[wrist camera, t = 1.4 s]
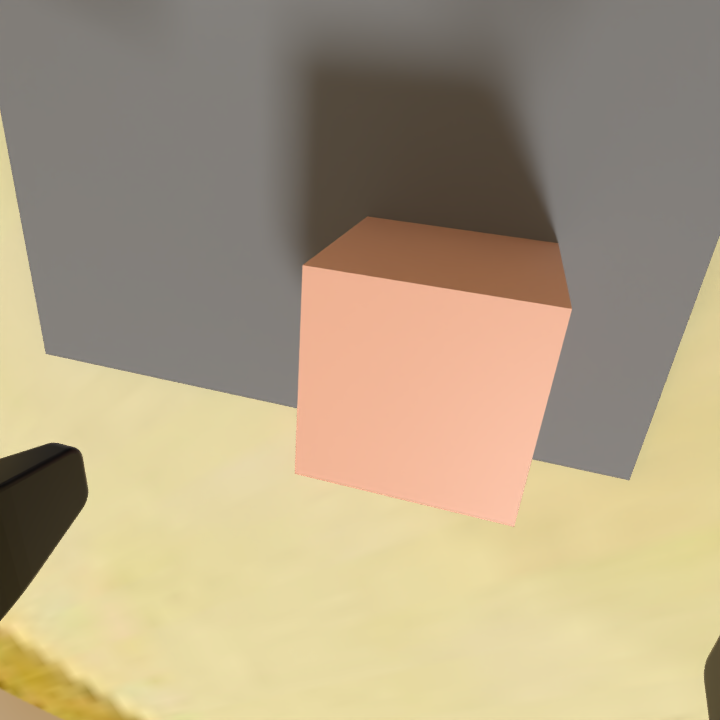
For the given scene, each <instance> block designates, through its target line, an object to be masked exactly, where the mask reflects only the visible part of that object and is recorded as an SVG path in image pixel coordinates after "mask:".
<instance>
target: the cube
mask: <svg viewBox="0 0 720 720" xmlns="http://www.w3.org/2000/svg"><path fill="white" fill-rule="evenodd" d="M571 311H572V306H571V301H570V297H569V292H568V287H567V282H566V277H565V273H564V268H563V263H562V258H561V254H560V249H559V244H558V243H553V242H546V241H539V240H531V239H524V238H517V237H510V236H503V235H496V234H489V233H482V232H474V231H467V230H460V229H453V228H446V227H439V226H432V225H425V224H418V223H410V222H403V221H396V220H389V219H382V218H375V217H368V216H367V217H366V218H365V219H363V220H362V221H361V222H359V223H358V224H357V225H355V226H354V227H353V228H351V229H350V230H349V231H347V232H346V233H345V234H343V235H342V236H341V237H339V238H338V239H337V240H335V241H334V242H333V243H331V244H330V245H329V246H327V247H326V248H325V249H323V250H322V251H321V252H319V253H318V254H317V255H315V256H314V257H313V258H311V259H310V260H309V261H307V262H306V263H305V264H303V266H302V293H301V321H300V348H299V375H298V403H297V430H296V457H295V474H298V475H303V476H307V477H311V478H315V479H319V480H323V481H327V482H331V483H336V484H340V485H344V486H348V487H352V488H356V489H360V490H365V491H369V492H373V493H377V494H381V495H385V496H389V497H393V498H398V499H402V500H406V501H410V502H414V503H418V504H422V505H427V506H431V507H435V508H439V509H443V510H447V511H451V512H456V513H460V514H464V515H468V516H472V517H476V518H480V519H484V520H489V521H493V522H497V523H501V524H505V525H509V526H513V527H514V525H515V521H516V517H517V514H518V510H519V506H520V502H521V499H522V495H523V491H524V487H525V484H526V480H527V476H528V472H529V469H530V465H531V461H532V457H533V454H534V450H535V446H536V442H537V439H538V435H539V431H540V427H541V424H542V420H543V416H544V412H545V409H546V405H547V401H548V397H549V394H550V390H551V386H552V382H553V379H554V375H555V371H556V367H557V364H558V360H559V356H560V352H561V349H562V345H563V341H564V337H565V334H566V330H567V326H568V322H569V319H570V315H571Z"/></svg>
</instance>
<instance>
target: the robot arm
mask: <svg viewBox="0 0 720 720" xmlns="http://www.w3.org/2000/svg"><path fill="white" fill-rule="evenodd" d="M87 497H88V485H87V479H86V474H85V468H84V462H83V457H82V454H81V452H80V451H79V450H78V449H77V448H75V447H71V446H67V445H63V444H59V443H49V444H45V445H42V446H39V447H36V448H33V449H30V450H26V451H23V452H20V453H17V454H14V455H10V456H7V457H4V458H1V459H0V621H1V620H2V618H3V617H4V616H5V615H6V614H7V612H8V611H9V610H10V609H11V608H12V606H13V605H14V604H15V603H16V601H17V600H18V599H19V598H20V596H21V595H22V594H23V593H24V591H25V590H26V588H27V587H28V586H29V584H30V583H31V582H32V580H33V579H34V577H35V576H36V575H37V573H38V572H39V570H40V569H41V567H42V566H43V565H44V563H45V562H46V560H47V559H48V557H49V556H50V555H51V553H52V552H53V550H54V549H55V547H56V546H57V544H58V543H59V542H60V540H61V539H62V537H63V536H64V534H65V533H66V532H67V530H68V529H69V527H70V526H71V524H72V523H73V522H74V520H75V519H76V517H77V516H78V514H79V513H80V511H81V510H82V509H83V507H84V505H85V503H86V501H87ZM704 683H705V691H706V699H707V707H708V715H709V720H720V636H719V638H718V639H717V641H716V643H715V645H714V647H713V649H712V651H711V652H710V654H709V656H708V658H707V660H706V664H705V669H704Z"/></svg>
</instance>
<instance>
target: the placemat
mask: <svg viewBox="0 0 720 720" xmlns="http://www.w3.org/2000/svg"><path fill="white" fill-rule="evenodd" d="M0 111H1V116H2V121H3V127H4V132H5V137H6V143H7V148H8V153H9V159H10V164H11V170H12V175H13V180H14V186H15V191H16V196H17V202H18V207H19V212H20V218H21V223H22V228H23V234H24V239H25V244H26V250H27V255H28V260H29V266H30V271H31V276H32V282H33V287H34V292H35V298H36V303H37V308H38V314H39V319H40V325H41V330H42V335H43V341H44V346H45V351H46V354H49V355H54V356H59V357H63V358H68V359H72V360H77V361H82V362H86V363H91V364H95V365H100V366H105V367H109V368H114V369H118V370H123V371H128V372H132V373H137V374H142V375H146V376H151V377H155V378H160V379H165V380H169V381H174V382H178V383H183V384H188V385H192V386H197V387H201V388H206V389H211V390H215V391H220V392H225V393H229V394H234V395H238V396H243V397H248V398H252V399H257V400H261V401H266V402H271V403H275V404H280V405H285V406H289V407H294V408H297V403H298V375H299V348H300V321H301V293H302V266H303V264H305V263H306V262H307V261H309V260H310V259H311V258H313V257H314V256H315V255H317V254H318V253H319V252H321V251H322V250H323V249H325V248H326V247H327V246H329V245H330V244H331V243H333V242H334V241H335V240H337V239H338V238H339V237H341V236H342V235H343V234H345V233H346V232H347V231H349V230H350V229H351V228H353V227H354V226H355V225H357V224H358V223H359V222H361V221H362V220H363V219H365V218H366V217H367V216H368V217H375V218H382V219H389V220H396V221H403V222H410V223H418V224H425V225H432V226H439V227H446V228H453V229H460V230H467V231H474V232H482V233H489V234H496V235H503V236H510V237H517V238H524V239H531V240H539V241H546V242H553V243H558V244H559V249H560V254H561V258H562V263H563V268H564V273H565V277H566V282H567V287H568V292H569V297H570V301H571V306H572V311H571V315H570V319H569V322H568V326H567V330H566V334H565V337H564V341H563V345H562V349H561V352H560V356H559V360H558V364H557V367H556V371H555V375H554V379H553V382H552V386H551V390H550V394H549V397H548V401H547V405H546V409H545V412H544V416H543V420H542V424H541V427H540V431H539V435H538V439H537V442H536V446H535V450H534V454H533V457H532V459H534V460H538V461H543V462H547V463H552V464H557V465H561V466H566V467H570V468H575V469H580V470H584V471H589V472H594V473H598V474H603V475H607V476H612V477H617V478H621V479H626V480H630V477H631V474H632V471H633V469H634V466H635V463H636V461H637V458H638V455H639V453H640V450H641V447H642V444H643V442H644V439H645V436H646V434H647V431H648V428H649V425H650V423H651V420H652V417H653V415H654V412H655V409H656V406H657V404H658V401H659V398H660V396H661V393H662V390H663V387H664V385H665V382H666V379H667V377H668V374H669V371H670V369H671V366H672V363H673V360H674V358H675V355H676V352H677V350H678V347H679V344H680V341H681V339H682V336H683V333H684V331H685V328H686V325H687V322H688V320H689V317H690V314H691V312H692V309H693V306H694V304H695V301H696V298H697V295H698V293H699V290H700V287H701V285H702V282H703V279H704V276H705V274H706V271H707V268H708V266H709V263H710V260H711V257H712V255H713V252H714V249H715V247H716V244H717V241H718V238H719V236H720V0H0Z"/></svg>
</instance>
